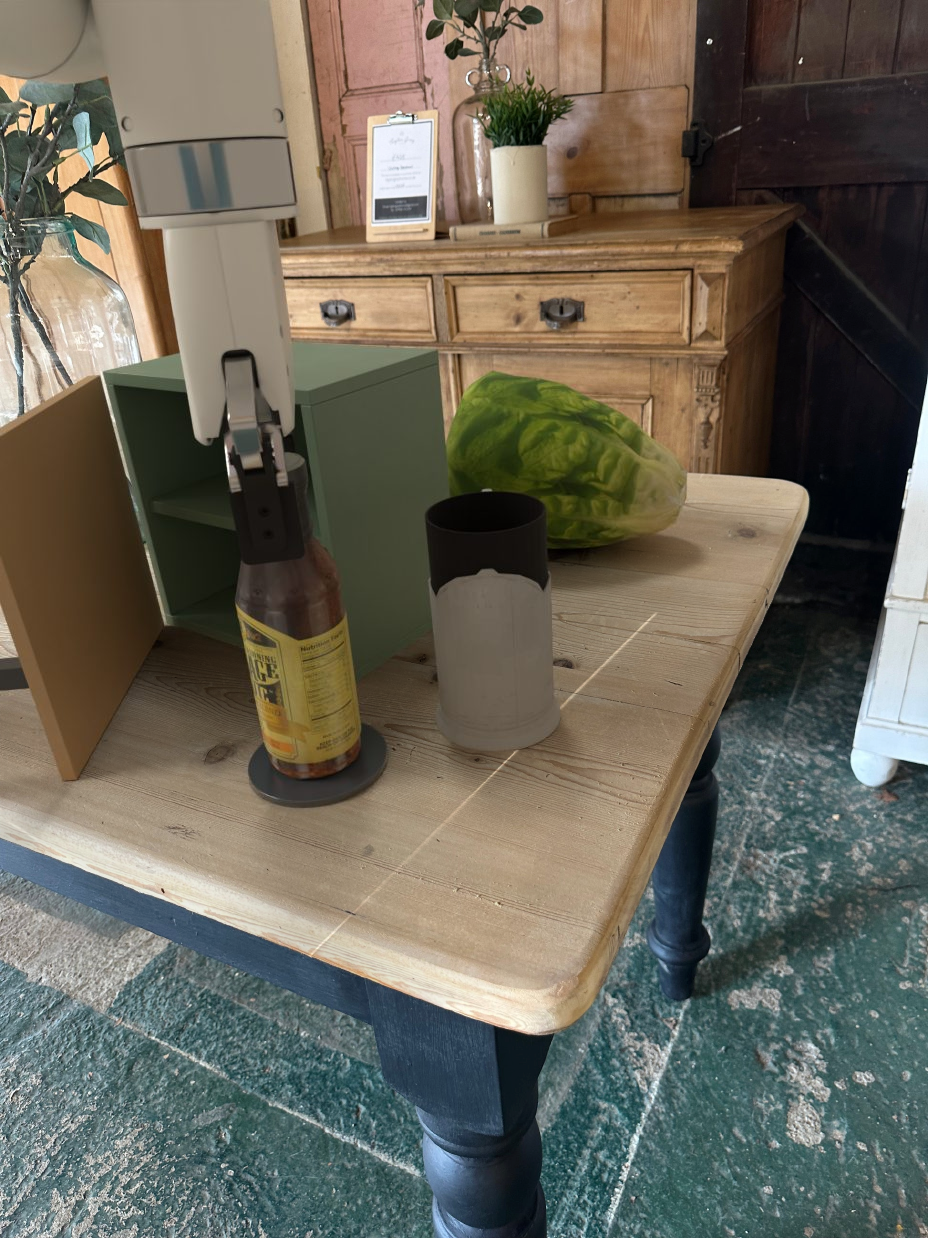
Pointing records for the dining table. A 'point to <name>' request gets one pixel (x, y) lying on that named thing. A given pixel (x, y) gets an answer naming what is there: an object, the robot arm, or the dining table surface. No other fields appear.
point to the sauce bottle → (300, 653)
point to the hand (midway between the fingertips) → (275, 527)
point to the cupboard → (337, 488)
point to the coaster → (323, 789)
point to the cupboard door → (72, 570)
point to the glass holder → (492, 620)
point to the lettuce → (564, 460)
